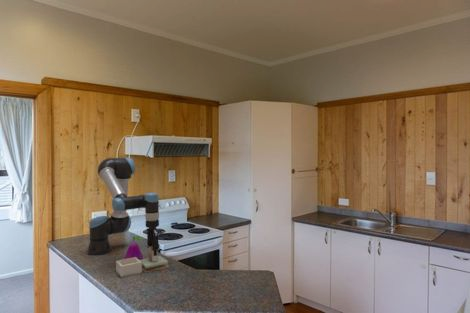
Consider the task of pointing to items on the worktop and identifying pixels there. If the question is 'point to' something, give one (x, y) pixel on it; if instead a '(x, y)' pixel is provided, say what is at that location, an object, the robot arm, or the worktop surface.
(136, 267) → the white open box
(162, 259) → the lid
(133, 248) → the magenta low-poly plum
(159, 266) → the mat
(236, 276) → the worktop surface
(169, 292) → the worktop surface
